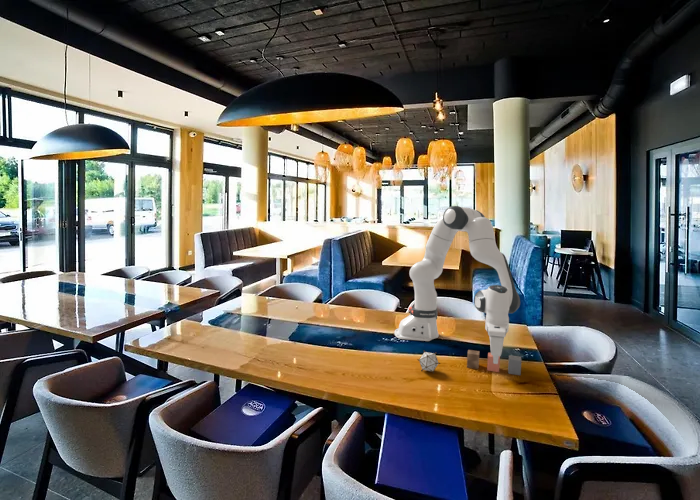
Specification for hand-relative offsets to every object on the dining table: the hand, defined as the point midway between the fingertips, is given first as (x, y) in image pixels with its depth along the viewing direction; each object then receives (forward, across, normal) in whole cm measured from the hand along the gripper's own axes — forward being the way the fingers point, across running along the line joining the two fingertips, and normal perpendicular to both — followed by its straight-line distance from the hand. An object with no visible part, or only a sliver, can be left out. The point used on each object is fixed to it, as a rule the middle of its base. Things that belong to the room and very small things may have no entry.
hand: (495, 358), depth 161 cm
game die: (+4, +12, -25) cm, 28 cm away
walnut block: (+4, 0, -9) cm, 10 cm away
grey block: (+4, 0, +7) cm, 8 cm away
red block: (+4, 0, -1) cm, 4 cm away
